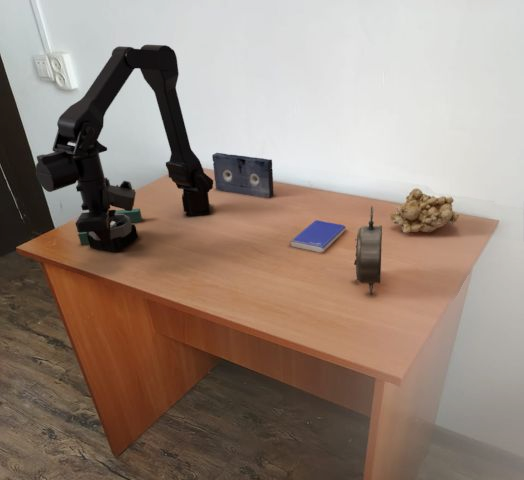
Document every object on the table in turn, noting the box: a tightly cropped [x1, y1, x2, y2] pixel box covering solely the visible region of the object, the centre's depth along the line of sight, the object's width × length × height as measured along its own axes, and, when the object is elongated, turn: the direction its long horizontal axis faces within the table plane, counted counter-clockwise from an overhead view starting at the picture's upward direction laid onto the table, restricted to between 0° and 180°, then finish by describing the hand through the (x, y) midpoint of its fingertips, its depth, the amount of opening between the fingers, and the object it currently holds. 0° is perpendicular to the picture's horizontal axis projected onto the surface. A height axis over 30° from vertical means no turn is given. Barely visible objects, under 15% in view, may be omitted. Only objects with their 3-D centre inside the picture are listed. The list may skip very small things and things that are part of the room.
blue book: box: [290, 220, 346, 254], centre depth 117 cm, size 2×8×12 cm
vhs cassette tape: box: [211, 152, 274, 199], centre depth 141 cm, size 18×3×10 cm, turn 59°
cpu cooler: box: [87, 213, 139, 253], centre depth 121 cm, size 10×6×10 cm
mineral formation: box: [388, 187, 460, 234], centre depth 117 cm, size 8×13×15 cm
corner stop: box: [77, 208, 143, 246], centre depth 127 cm, size 14×13×3 cm
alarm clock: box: [353, 205, 383, 296], centre depth 96 cm, size 11×5×16 cm, turn 168°
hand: (107, 245), depth 116 cm, fingers closed
